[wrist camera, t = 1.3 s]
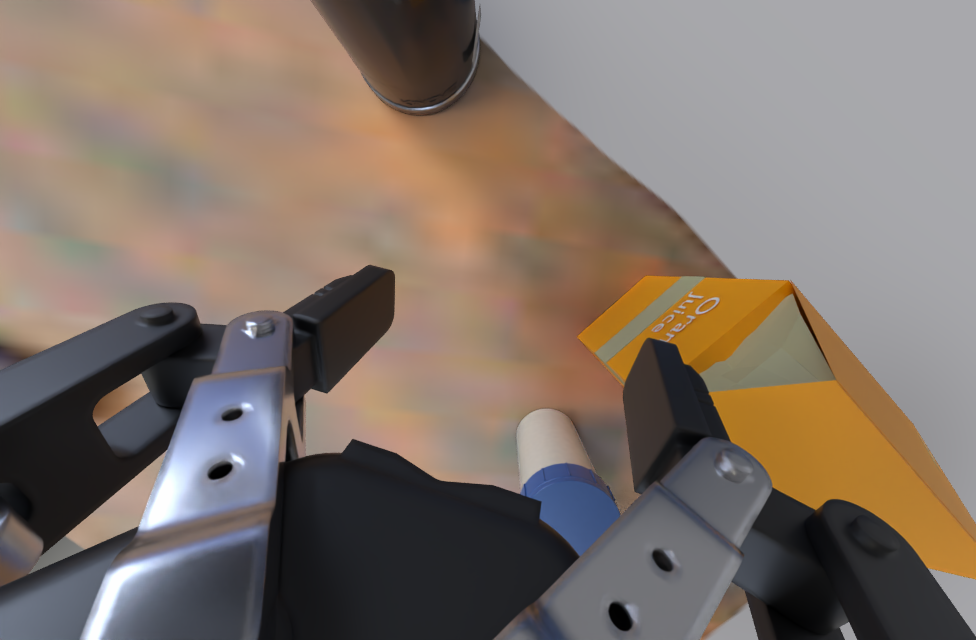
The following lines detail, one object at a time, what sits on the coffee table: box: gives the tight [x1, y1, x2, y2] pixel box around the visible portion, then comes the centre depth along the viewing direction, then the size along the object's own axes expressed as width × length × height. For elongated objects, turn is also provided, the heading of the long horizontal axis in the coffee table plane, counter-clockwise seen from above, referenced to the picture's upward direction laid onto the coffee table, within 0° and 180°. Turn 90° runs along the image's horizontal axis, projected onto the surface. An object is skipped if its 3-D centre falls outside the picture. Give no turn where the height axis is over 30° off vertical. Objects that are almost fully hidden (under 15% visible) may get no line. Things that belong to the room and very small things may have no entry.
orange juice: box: [577, 276, 976, 579], centre depth 20 cm, size 8×9×20 cm
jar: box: [516, 409, 598, 493], centre depth 26 cm, size 5×5×11 cm
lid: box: [520, 462, 620, 556], centre depth 21 cm, size 6×6×2 cm
